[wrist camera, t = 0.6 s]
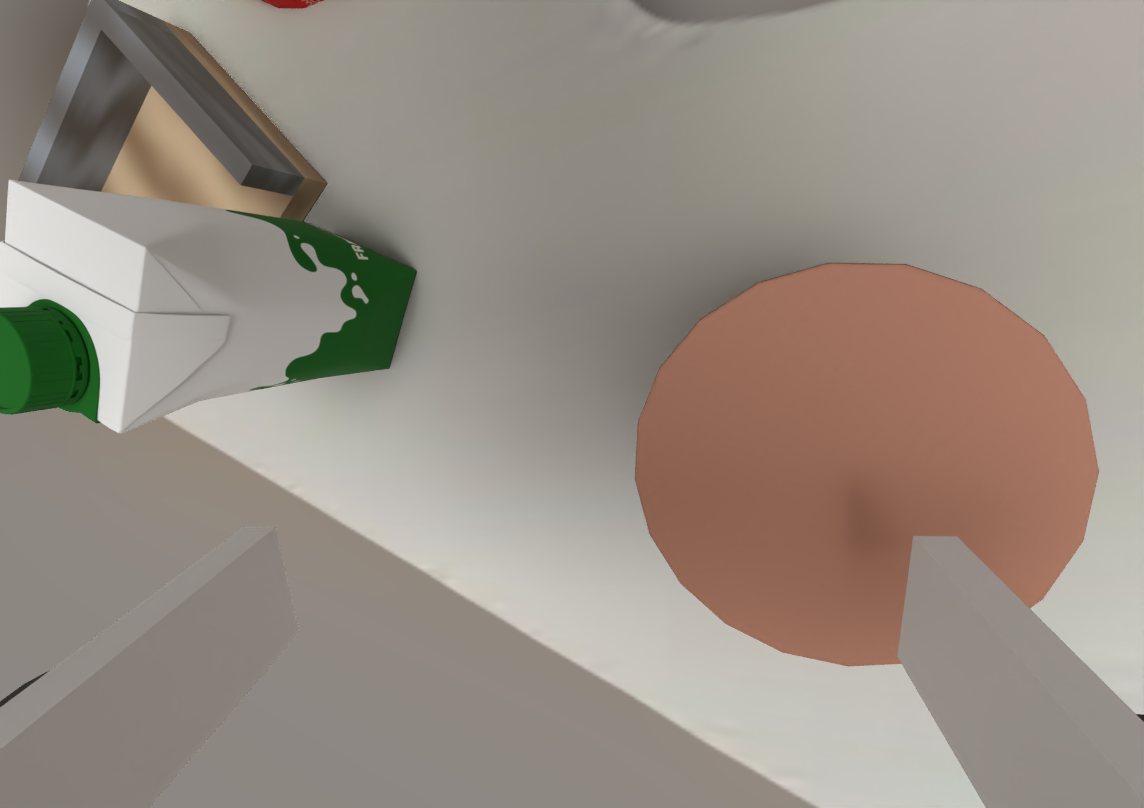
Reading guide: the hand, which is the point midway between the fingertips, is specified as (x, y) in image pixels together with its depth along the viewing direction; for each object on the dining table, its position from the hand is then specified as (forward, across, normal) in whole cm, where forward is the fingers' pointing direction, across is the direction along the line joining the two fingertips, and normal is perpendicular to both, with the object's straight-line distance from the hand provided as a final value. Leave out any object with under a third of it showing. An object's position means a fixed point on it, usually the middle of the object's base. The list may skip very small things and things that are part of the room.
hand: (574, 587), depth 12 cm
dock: (+31, -30, +11) cm, 44 cm away
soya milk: (+28, -18, +3) cm, 33 cm away
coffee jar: (+22, +10, -1) cm, 24 cm away
